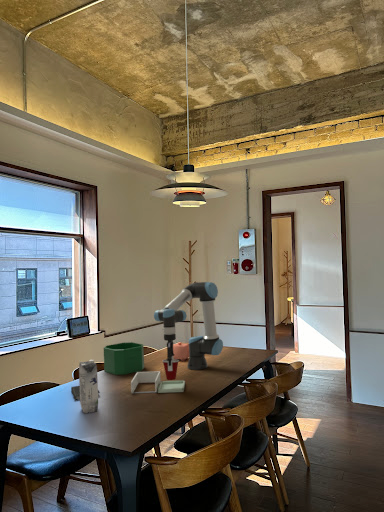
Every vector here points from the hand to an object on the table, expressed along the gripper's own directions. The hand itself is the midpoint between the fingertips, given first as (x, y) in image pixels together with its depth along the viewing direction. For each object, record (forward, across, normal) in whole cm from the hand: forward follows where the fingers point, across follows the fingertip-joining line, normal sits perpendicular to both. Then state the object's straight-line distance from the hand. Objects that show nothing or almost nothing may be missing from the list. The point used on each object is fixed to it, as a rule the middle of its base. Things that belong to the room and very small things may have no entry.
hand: (171, 368), depth 251 cm
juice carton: (+13, +35, -42) cm, 56 cm away
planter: (+13, -52, -40) cm, 67 cm away
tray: (+12, 0, 0) cm, 12 cm away
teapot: (+12, -78, +2) cm, 79 cm away
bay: (+12, -3, -16) cm, 21 cm away
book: (+13, +5, -54) cm, 56 cm away
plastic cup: (+7, 0, 0) cm, 7 cm away
